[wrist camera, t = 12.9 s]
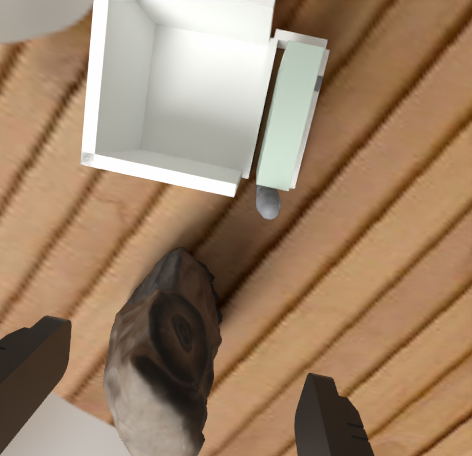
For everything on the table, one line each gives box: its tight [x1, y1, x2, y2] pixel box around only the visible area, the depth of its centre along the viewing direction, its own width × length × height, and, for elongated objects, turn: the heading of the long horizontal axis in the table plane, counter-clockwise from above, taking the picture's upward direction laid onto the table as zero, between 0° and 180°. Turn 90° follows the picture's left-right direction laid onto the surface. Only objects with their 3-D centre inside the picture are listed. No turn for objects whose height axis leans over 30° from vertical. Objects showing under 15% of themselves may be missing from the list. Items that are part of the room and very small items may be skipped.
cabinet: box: [81, 0, 330, 219], centre depth 30 cm, size 18×16×13 cm
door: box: [256, 40, 324, 191], centre depth 30 cm, size 3×10×12 cm, turn 168°
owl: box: [103, 247, 223, 456], centre depth 32 cm, size 13×13×20 cm
